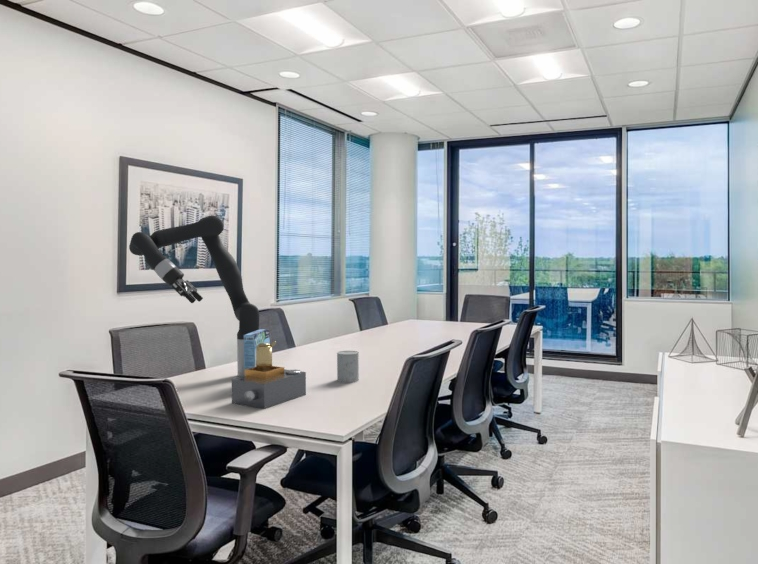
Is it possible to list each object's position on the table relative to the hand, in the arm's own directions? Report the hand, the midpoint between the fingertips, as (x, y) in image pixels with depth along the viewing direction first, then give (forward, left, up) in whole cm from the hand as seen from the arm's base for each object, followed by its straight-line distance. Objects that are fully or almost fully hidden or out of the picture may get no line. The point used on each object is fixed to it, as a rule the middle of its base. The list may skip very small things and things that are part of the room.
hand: (197, 300), depth 228 cm
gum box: (-18, +15, -37) cm, 44 cm away
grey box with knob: (-3, +34, -37) cm, 50 cm away
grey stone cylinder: (-46, +42, -37) cm, 73 cm away
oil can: (-4, +31, -27) cm, 42 cm away
